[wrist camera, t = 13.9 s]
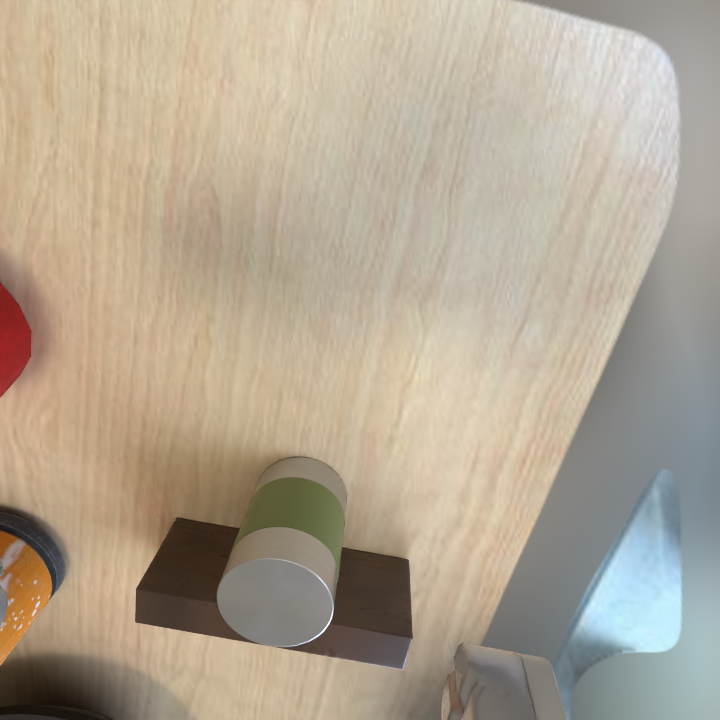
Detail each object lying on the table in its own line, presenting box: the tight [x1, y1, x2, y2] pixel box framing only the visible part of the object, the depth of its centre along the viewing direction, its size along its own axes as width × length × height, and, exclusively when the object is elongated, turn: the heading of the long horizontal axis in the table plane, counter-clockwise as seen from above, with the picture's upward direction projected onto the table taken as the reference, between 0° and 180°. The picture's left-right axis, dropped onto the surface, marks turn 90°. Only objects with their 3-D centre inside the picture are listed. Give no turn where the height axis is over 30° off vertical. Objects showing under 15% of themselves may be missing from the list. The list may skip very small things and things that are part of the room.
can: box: [217, 457, 347, 647], centre depth 34 cm, size 7×7×10 cm
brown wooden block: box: [135, 518, 413, 669], centre depth 38 cm, size 18×6×7 cm, turn 80°
